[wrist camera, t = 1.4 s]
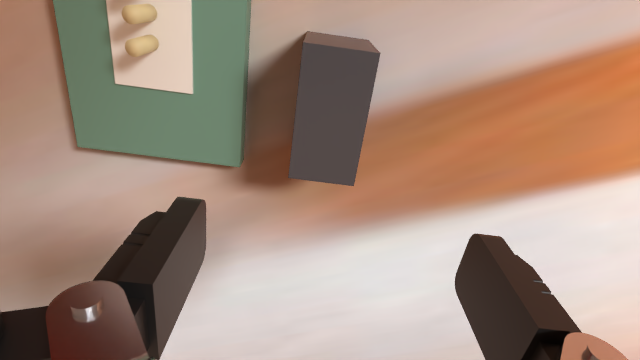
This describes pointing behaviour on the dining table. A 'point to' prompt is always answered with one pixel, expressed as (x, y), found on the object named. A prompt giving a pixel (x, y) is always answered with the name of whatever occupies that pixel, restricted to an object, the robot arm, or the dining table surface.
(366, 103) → the block
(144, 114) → the board
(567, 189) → the dining table surface
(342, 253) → the dining table surface
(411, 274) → the dining table surface
